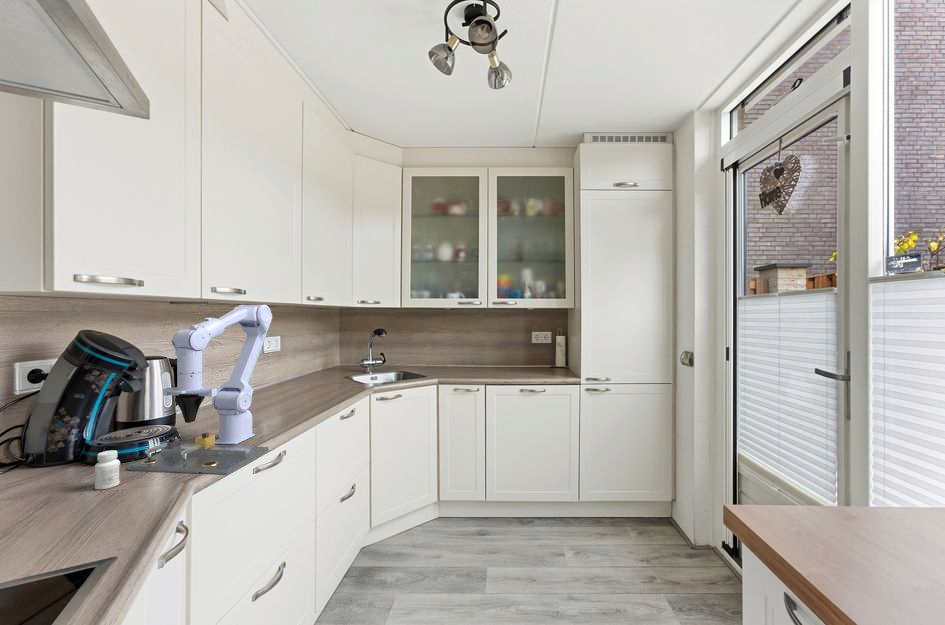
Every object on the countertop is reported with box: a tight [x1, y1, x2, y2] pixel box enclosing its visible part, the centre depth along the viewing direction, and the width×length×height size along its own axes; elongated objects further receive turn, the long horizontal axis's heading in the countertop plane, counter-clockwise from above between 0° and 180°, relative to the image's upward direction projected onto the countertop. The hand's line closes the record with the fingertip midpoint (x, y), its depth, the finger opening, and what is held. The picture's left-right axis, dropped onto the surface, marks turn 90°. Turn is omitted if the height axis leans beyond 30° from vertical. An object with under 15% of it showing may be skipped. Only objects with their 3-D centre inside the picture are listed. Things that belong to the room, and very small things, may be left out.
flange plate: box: [128, 443, 269, 475], centre depth 111 cm, size 17×27×1 cm, turn 84°
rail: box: [160, 446, 250, 456], centre depth 113 cm, size 2×25×2 cm, turn 84°
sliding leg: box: [181, 432, 216, 462], centre depth 110 cm, size 10×3×5 cm, turn 174°
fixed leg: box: [144, 437, 182, 460], centre depth 111 cm, size 9×2×3 cm, turn 174°
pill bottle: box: [94, 450, 121, 490], centre depth 95 cm, size 4×4×8 cm
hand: (190, 421), depth 113 cm, fingers closed
